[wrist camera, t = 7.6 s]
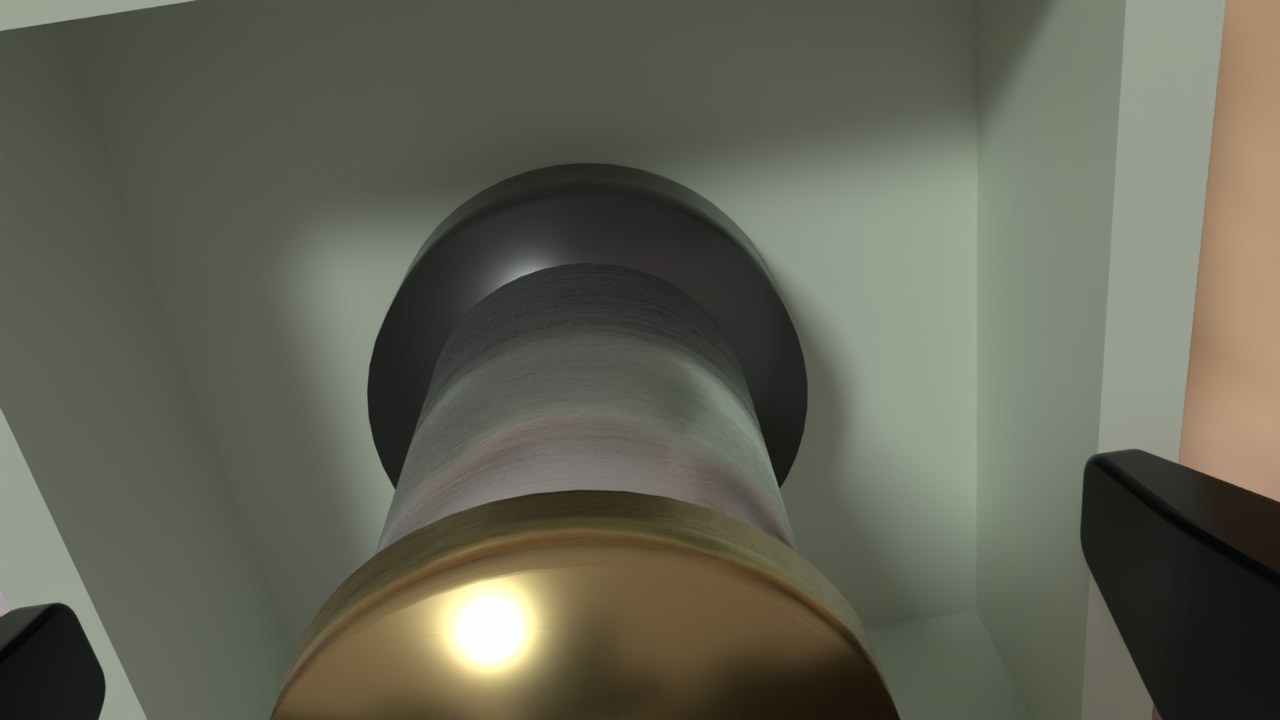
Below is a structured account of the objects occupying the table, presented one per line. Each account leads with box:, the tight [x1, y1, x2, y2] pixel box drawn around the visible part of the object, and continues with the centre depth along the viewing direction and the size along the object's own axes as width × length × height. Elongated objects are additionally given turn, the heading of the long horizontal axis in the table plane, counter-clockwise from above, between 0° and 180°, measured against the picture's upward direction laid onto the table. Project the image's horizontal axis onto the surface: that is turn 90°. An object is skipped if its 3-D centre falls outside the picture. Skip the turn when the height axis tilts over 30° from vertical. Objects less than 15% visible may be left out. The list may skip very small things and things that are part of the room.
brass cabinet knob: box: [269, 163, 900, 720], centre depth 10 cm, size 5×5×7 cm
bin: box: [0, 0, 1226, 720], centre depth 12 cm, size 12×12×4 cm
